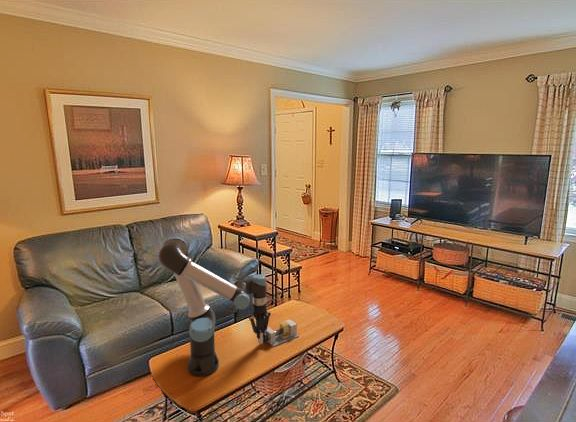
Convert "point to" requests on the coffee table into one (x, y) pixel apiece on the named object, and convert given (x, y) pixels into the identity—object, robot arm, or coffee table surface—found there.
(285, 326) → the spacer
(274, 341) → the grey bench vise
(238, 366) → the coffee table surface
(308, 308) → the coffee table surface
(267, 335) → the shaft
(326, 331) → the coffee table surface
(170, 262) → the robot arm
